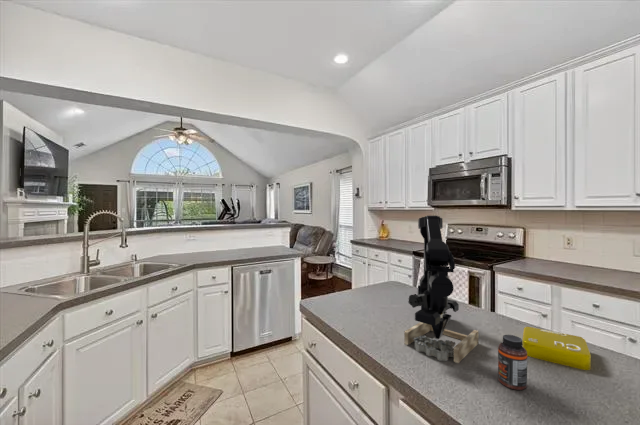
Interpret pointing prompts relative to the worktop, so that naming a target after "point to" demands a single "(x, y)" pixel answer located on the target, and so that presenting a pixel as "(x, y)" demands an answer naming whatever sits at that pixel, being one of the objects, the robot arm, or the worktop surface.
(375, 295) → the worktop surface
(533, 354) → the element tile
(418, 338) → the egg carton
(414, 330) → the open wooden frame
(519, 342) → the supplement bottle
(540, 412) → the worktop surface
